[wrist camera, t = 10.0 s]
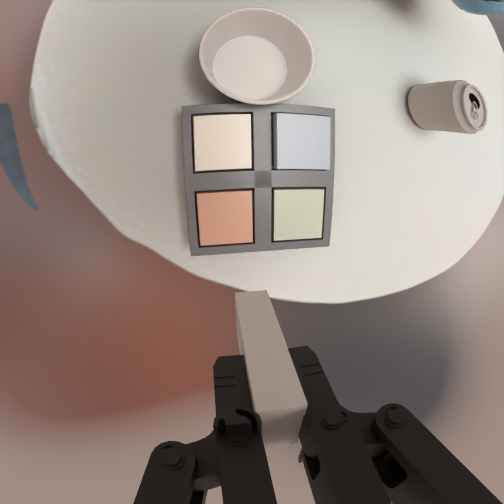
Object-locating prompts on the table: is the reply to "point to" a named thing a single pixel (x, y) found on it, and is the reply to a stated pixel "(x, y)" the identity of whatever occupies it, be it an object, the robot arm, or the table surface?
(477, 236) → the table surface
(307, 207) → the key
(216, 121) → the key
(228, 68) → the food container
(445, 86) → the can
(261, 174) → the keypad
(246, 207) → the key
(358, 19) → the table surface
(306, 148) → the key
